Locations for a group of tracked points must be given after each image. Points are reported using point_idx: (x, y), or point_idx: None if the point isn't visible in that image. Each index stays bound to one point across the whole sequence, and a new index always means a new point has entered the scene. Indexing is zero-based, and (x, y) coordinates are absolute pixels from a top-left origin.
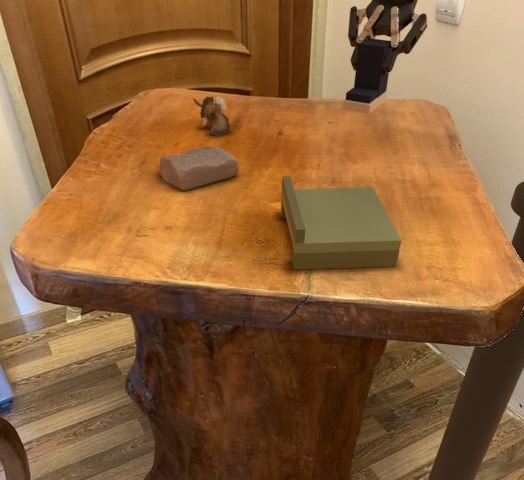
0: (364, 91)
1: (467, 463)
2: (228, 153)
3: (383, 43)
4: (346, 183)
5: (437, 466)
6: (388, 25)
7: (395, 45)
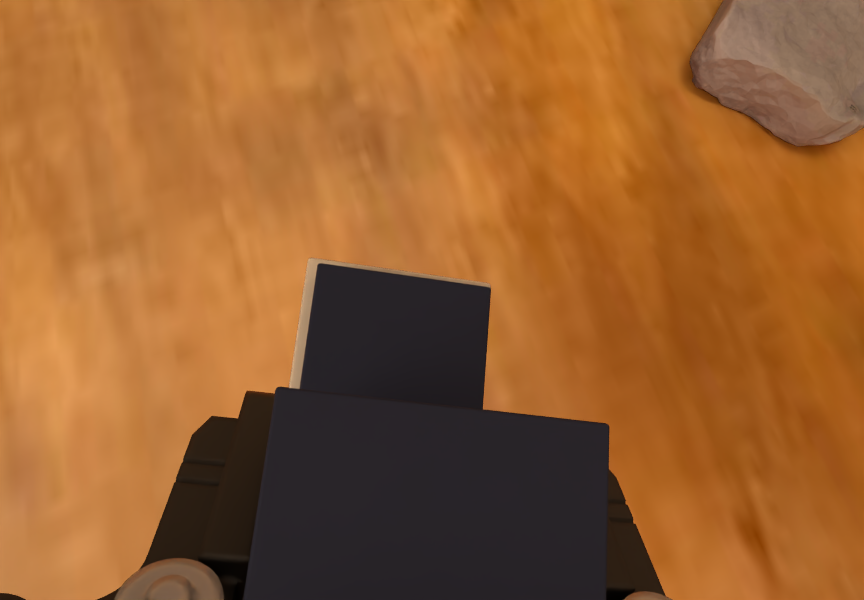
0: (383, 356)
1: None
2: (766, 62)
3: (327, 567)
4: (326, 145)
5: None
6: None
7: (153, 582)
